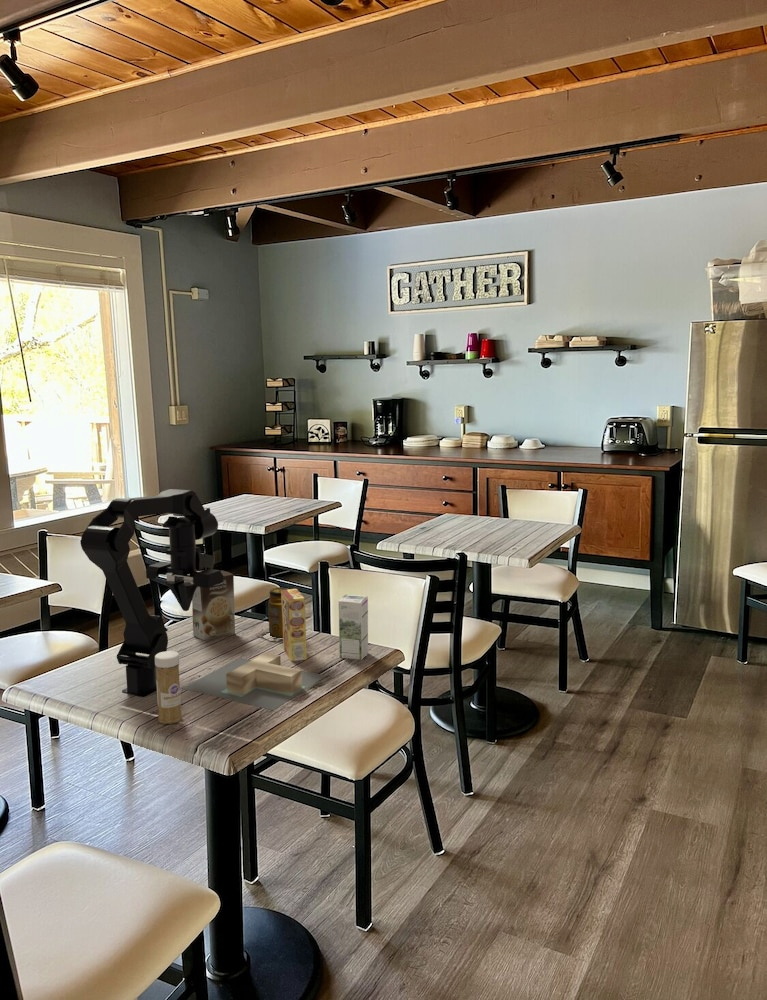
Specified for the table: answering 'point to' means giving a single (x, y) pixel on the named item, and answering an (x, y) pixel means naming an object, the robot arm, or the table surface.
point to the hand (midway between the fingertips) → (186, 610)
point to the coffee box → (214, 609)
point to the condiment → (275, 614)
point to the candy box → (294, 624)
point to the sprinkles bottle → (168, 687)
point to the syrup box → (353, 626)
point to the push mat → (256, 697)
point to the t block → (264, 676)
